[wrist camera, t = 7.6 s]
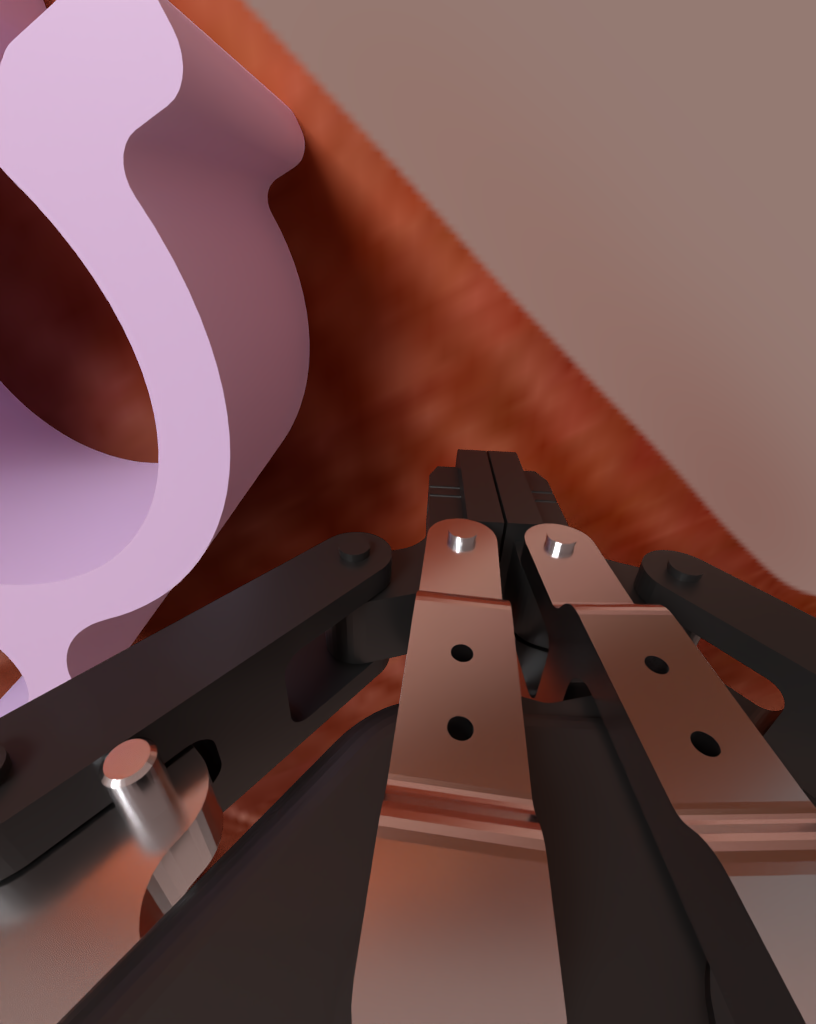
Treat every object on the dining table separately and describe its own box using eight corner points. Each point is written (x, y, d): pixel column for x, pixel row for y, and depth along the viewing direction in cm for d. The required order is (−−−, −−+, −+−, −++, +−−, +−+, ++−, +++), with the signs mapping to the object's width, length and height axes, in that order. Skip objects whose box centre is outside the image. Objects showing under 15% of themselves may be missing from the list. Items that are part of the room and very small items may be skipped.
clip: (210, 636, 22) (129, 786, 16) (-79, 533, 19) (-305, 668, 13) (392, 172, 12) (357, 114, 6) (-147, -165, 9) (-1124, -839, 3)
